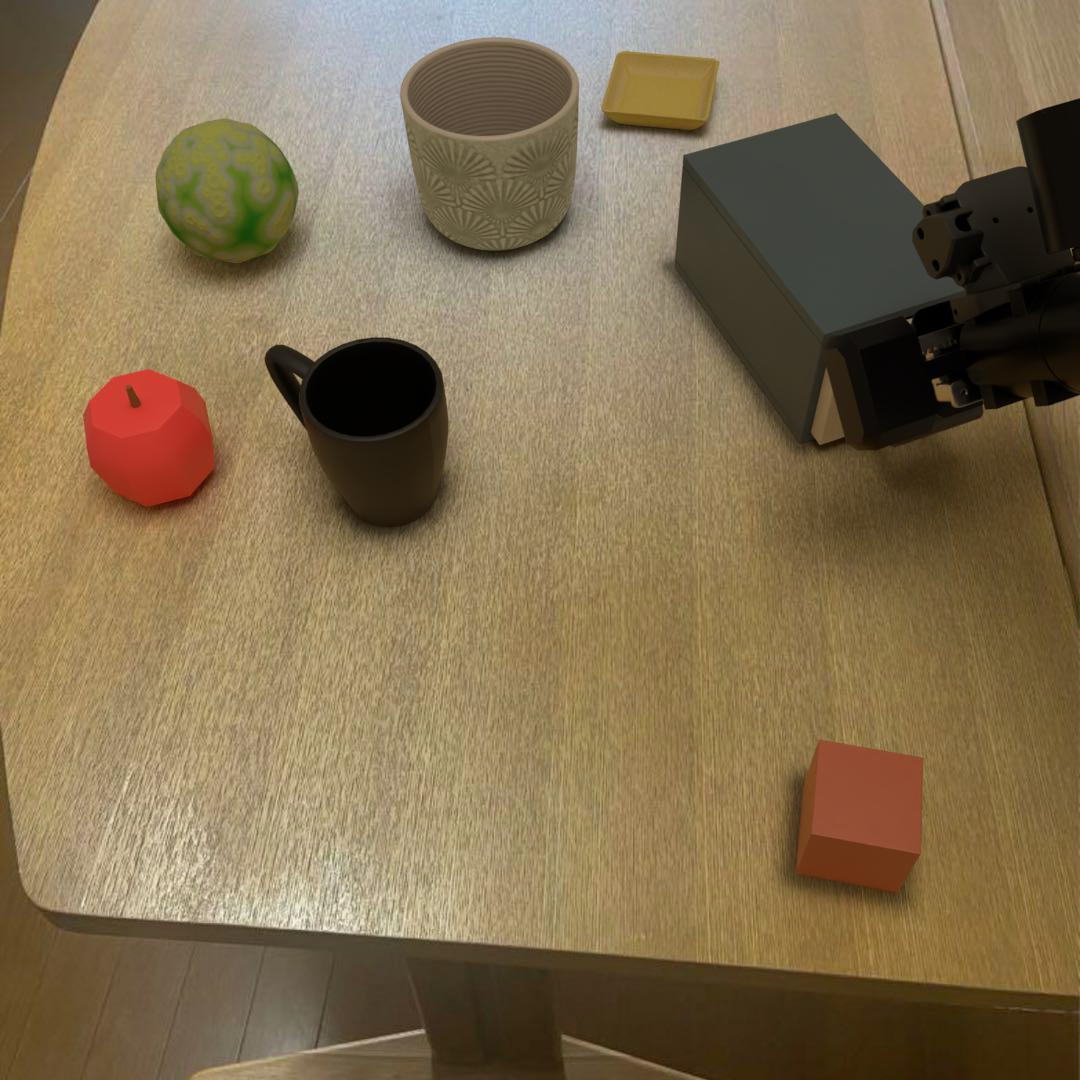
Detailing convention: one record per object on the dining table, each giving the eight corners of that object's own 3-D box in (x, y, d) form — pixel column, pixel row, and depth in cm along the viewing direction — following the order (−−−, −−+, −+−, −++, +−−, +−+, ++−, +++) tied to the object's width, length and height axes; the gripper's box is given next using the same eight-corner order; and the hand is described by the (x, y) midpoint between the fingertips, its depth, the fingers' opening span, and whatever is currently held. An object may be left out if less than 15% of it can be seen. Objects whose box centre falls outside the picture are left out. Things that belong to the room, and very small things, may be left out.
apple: (81, 469, 77) (35, 382, 70) (189, 409, 80) (155, 320, 73) (141, 544, 73) (99, 460, 66) (252, 478, 76) (222, 391, 69)
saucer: (706, 142, 95) (708, 119, 94) (599, 132, 97) (599, 109, 95) (718, 81, 100) (720, 58, 99) (617, 72, 102) (617, 49, 100)
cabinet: (955, 392, 78) (995, 280, 71) (799, 444, 76) (824, 334, 68) (814, 225, 89) (836, 112, 81) (674, 267, 87) (682, 154, 79)
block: (901, 800, 62) (923, 757, 57) (897, 893, 59) (921, 854, 55) (803, 782, 62) (818, 738, 58) (795, 873, 59) (810, 834, 55)
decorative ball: (243, 310, 85) (208, 194, 77) (150, 256, 89) (107, 141, 81) (337, 236, 90) (313, 120, 82) (244, 189, 94) (213, 73, 85)
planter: (581, 266, 87) (581, 136, 78) (412, 271, 87) (393, 142, 78) (577, 162, 94) (577, 33, 86) (421, 166, 95) (405, 38, 86)
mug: (340, 401, 80) (314, 293, 72) (484, 478, 75) (472, 371, 68) (256, 480, 76) (219, 374, 68) (402, 566, 71) (380, 463, 64)
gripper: (1217, 112, 57) (1014, 184, 72) (875, 214, 53) (737, 267, 68) (1265, 339, 58) (1056, 363, 73) (936, 454, 54) (788, 453, 70)
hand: (913, 357), depth 71 cm, fingers closed, pressing on drawer
